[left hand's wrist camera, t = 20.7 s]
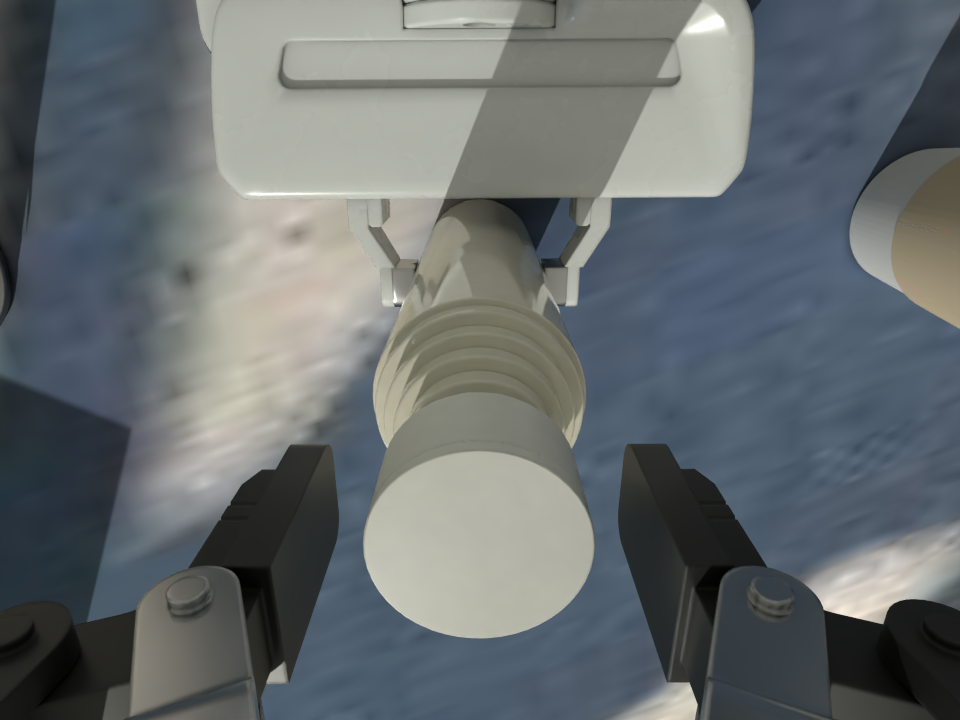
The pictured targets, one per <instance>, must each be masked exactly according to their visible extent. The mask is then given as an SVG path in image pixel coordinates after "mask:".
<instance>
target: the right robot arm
mask: <svg viewBox="0 0 960 720" xmlns="http://www.w3.org/2000/svg"><path fill="white" fill-rule="evenodd" d="M196 4H197V10H198V17H199V23H200V29H201V33H202V36H203V39H204V42H205V44H206V46H207V48H208V50H209V51H210V53H211V106H212V123H213V136H214V146H215V156H216V163H217V168H218V171H219V174H220V175H221V177H222V178H223V179H224V180H225V181H226V183H227V184H228V185H229V186H230V187H231V188H232V189H233V190H234V191H235V192H236V193H237V194H238V195H239V196H240V197H241V198H243V199H247V200H283V199H347V208H348V220H349V228H350V230H351V231H352V233H353V234H354V236H355V237H356V239H357V240H358V242H359V243H360V244H361V246H362V247H363V249H364V250H365V252H366V253H367V255H368V256H369V258H370V259H371V261H372V262H373V264H374V265H375V267H376V268H380V281H381V295H382V304H383V307H401V306H402V304H403V301H404V299H405V296H406V294H407V291H408V289H409V287H410V284H411V282H412V279H413V277H414V274H415V272H416V269H417V267H418V264H419V262H418V259H400V257H399V255H398V254H397V252H396V251H395V249H394V247H393V246H392V244H391V242H390V241H389V239H388V237H387V236H386V234H385V233H384V231H383V229H382V228H381V226H382V225H383V224H384V223H385V222H386V220H387V219H388V218H389V217H390V204H389V199H451V198H570V200H569V216H570V217H571V218H572V219H573V221H574V222H575V223H576V224H577V225H578V227H577V228H576V230H575V232H574V233H573V235H572V237H571V238H570V240H569V242H568V243H567V245H566V247H565V248H564V250H563V252H562V253H561V255H560V258H548V259H541V266H542V268H543V271H544V273H545V276H546V278H547V281H548V283H549V286H550V288H551V291H552V293H553V296H554V298H555V301H556V303H557V306H576V305H577V302H578V291H579V273H580V267H583V266H584V265H585V263H586V262H587V260H588V259H589V257H590V256H591V254H592V253H593V251H594V250H595V248H596V247H597V245H598V244H599V242H600V241H601V239H602V238H603V236H604V235H605V233H606V232H607V230H608V229H609V227H610V217H611V204H612V198H619V197H716V196H719V195H721V194H722V193H723V192H724V191H725V190H726V189H727V188H728V187H729V186H730V185H731V184H732V182H733V181H734V180H735V179H736V178H737V177H738V175H739V174H740V173H741V172H742V170H743V168H744V165H745V161H746V156H747V151H748V144H749V137H750V128H751V119H752V107H753V93H754V69H755V35H754V25H753V19H752V14H751V11H750V7H749V5H748V2H747V0H196Z"/></svg>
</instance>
